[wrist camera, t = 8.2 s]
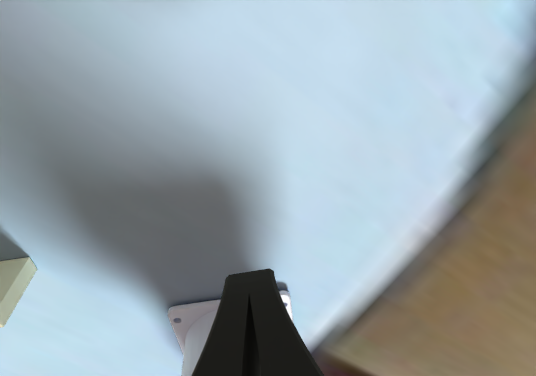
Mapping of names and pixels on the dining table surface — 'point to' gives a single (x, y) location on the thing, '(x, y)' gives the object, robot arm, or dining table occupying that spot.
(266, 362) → the robot arm
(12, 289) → the bin
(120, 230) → the dining table surface
